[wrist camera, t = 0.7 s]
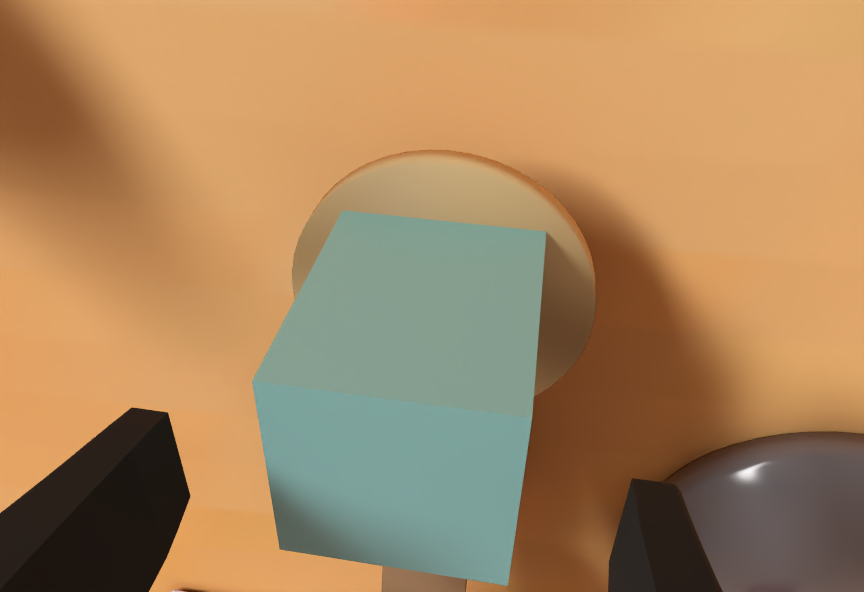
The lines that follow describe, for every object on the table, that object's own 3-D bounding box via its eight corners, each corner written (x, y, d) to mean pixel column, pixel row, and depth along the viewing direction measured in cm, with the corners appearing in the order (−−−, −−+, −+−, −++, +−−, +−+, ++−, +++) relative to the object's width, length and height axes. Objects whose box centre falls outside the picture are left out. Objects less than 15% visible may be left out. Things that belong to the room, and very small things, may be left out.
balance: (528, 601, 27) (516, 792, 22) (354, 573, 27) (305, 752, 22) (615, 114, 16) (630, 278, 11) (322, 90, 16) (212, 232, 12)
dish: (909, 660, 25) (920, 690, 24) (608, 611, 26) (609, 638, 25) (1066, 460, 19) (1087, 491, 18) (668, 408, 20) (672, 435, 19)
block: (525, 385, 16) (507, 586, 12) (350, 362, 17) (279, 549, 13) (546, 231, 14) (532, 417, 10) (342, 210, 15) (252, 381, 11)
